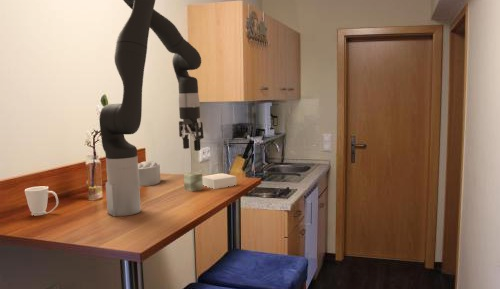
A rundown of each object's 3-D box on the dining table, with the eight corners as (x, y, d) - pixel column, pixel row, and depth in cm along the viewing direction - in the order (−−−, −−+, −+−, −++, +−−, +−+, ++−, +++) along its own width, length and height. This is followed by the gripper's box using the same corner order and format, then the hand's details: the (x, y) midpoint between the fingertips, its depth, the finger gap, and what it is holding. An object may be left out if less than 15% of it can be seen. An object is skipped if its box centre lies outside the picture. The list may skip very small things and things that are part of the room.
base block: (214, 189, 168) (214, 179, 168) (201, 185, 176) (200, 176, 176) (236, 185, 174) (236, 176, 173) (222, 181, 182) (222, 173, 181)
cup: (34, 211, 144) (31, 186, 143) (64, 210, 143) (62, 185, 142) (21, 217, 137) (19, 191, 136) (53, 216, 136) (51, 190, 135)
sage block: (191, 191, 165) (190, 175, 164) (184, 189, 169) (183, 174, 168) (202, 189, 168) (202, 173, 167) (196, 187, 172) (195, 172, 171)
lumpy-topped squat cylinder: (162, 180, 191) (161, 159, 190) (154, 186, 178) (152, 164, 177) (138, 180, 192) (137, 160, 191) (128, 186, 179) (127, 165, 178)
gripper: (171, 106, 169) (174, 149, 170) (189, 106, 157) (192, 152, 159) (189, 105, 173) (191, 147, 175) (208, 105, 161) (210, 150, 163)
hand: (191, 149), depth 167 cm, fingers open, 8 cm apart
